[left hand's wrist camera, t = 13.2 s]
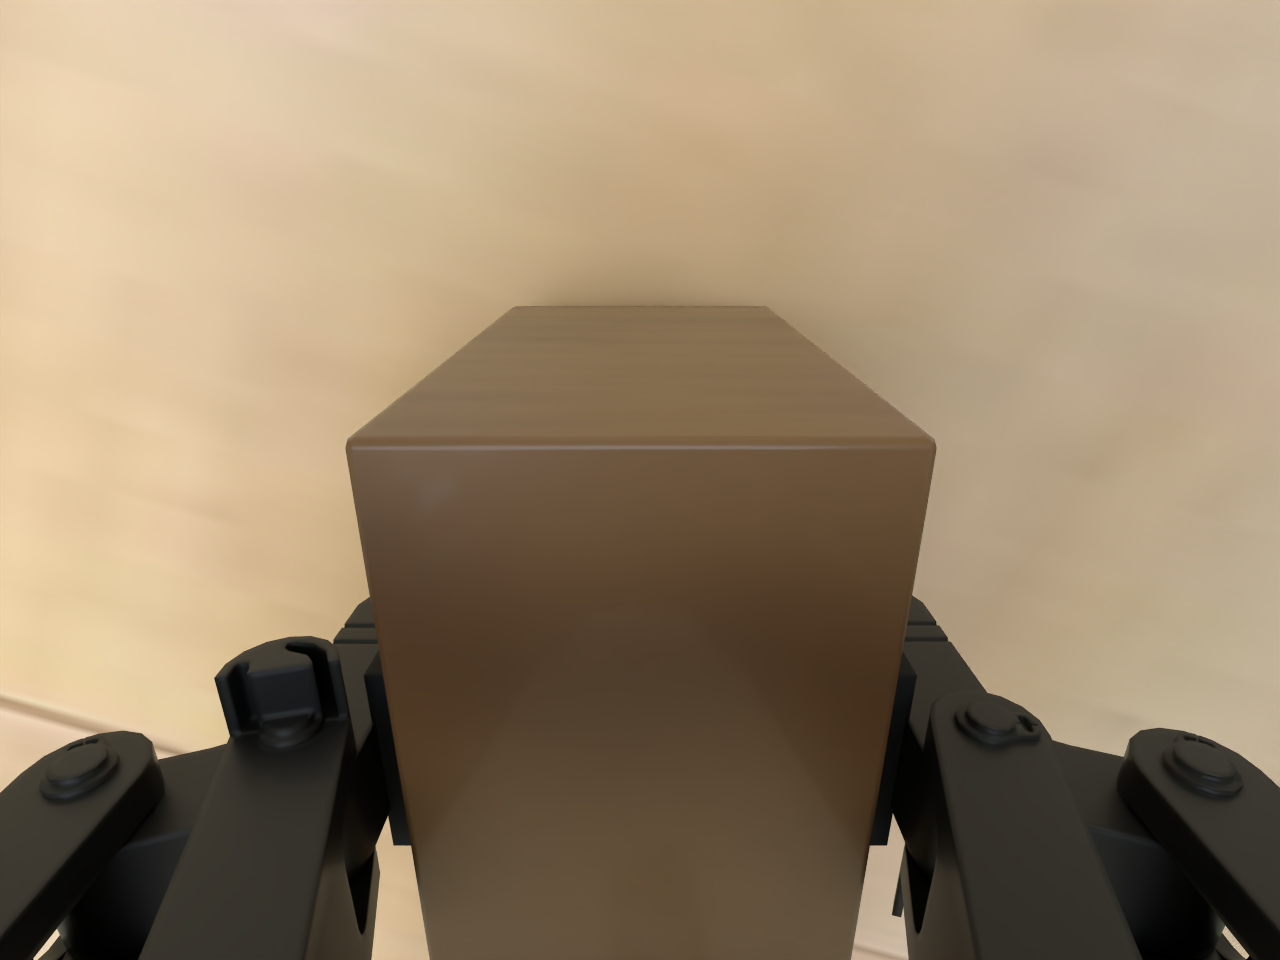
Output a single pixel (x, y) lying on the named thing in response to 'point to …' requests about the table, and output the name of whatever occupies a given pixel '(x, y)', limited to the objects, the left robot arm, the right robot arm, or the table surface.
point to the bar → (640, 631)
